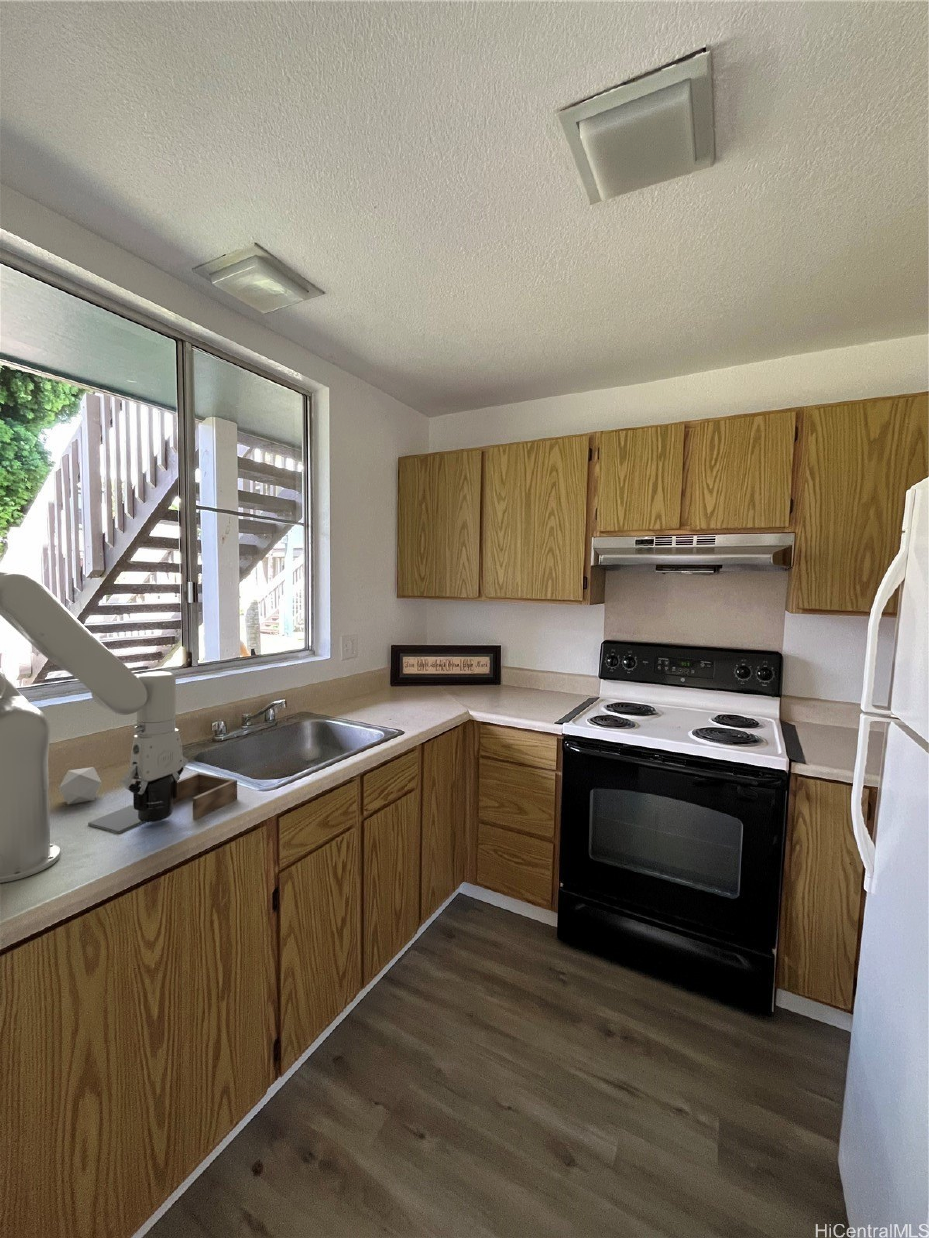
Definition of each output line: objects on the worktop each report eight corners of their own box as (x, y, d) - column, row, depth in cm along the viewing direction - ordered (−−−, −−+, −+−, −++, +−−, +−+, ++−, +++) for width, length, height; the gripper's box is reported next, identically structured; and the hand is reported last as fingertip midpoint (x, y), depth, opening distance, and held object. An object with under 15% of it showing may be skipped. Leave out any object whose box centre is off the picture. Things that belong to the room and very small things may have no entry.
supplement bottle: (148, 825, 111) (149, 772, 110) (131, 818, 114) (131, 766, 114) (179, 814, 117) (179, 763, 116) (162, 807, 120) (162, 758, 120)
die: (105, 793, 133) (81, 764, 132) (114, 785, 128) (89, 755, 127) (72, 815, 126) (46, 785, 125) (80, 807, 121) (54, 776, 120)
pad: (119, 833, 110) (119, 830, 110) (88, 825, 114) (88, 822, 114) (160, 814, 120) (160, 812, 120) (131, 807, 123) (131, 804, 123)
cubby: (196, 819, 118) (195, 798, 118) (155, 809, 122) (155, 789, 122) (237, 799, 130) (237, 780, 129) (199, 790, 134) (199, 772, 134)
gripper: (131, 738, 105) (130, 822, 106) (200, 720, 121) (200, 792, 122) (106, 734, 108) (106, 815, 109) (177, 716, 124) (177, 787, 125)
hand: (155, 802), depth 115 cm, fingers closed on supplement bottle, 6 cm apart
